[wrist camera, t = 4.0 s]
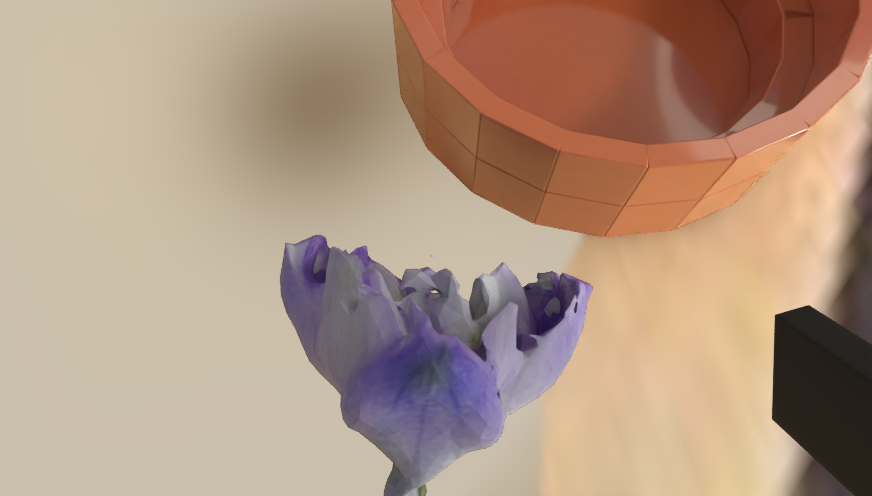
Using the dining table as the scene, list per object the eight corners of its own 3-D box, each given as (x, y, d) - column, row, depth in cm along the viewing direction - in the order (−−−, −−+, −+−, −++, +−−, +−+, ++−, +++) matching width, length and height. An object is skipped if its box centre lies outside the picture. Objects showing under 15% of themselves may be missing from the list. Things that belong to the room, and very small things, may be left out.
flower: (600, 663, 13) (520, 198, 12) (271, 624, 17) (190, 255, 16) (634, 462, 22) (587, 177, 21) (412, 463, 25) (364, 217, 24)
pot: (417, 262, 24) (410, 190, 18) (384, -66, 30) (372, -195, 24) (844, 219, 24) (966, 137, 19) (727, -94, 30) (793, -227, 25)
